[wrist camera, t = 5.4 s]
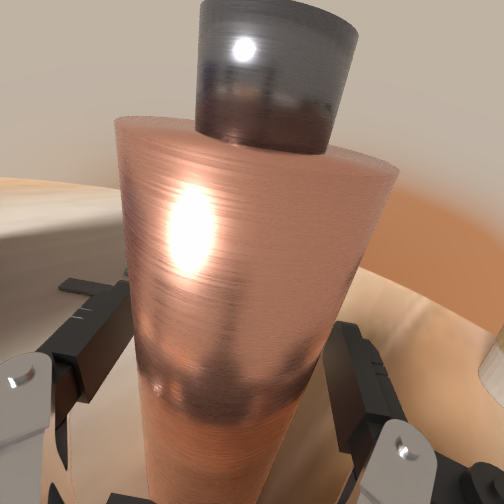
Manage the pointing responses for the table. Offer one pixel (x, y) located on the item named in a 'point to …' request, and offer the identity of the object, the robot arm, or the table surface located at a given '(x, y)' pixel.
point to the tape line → (83, 287)
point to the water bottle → (241, 244)
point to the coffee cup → (494, 370)
